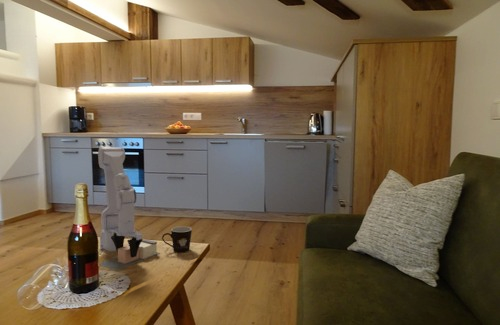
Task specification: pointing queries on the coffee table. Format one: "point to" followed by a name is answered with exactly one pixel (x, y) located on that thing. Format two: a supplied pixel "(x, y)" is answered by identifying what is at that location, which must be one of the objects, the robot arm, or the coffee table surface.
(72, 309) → the coffee table surface
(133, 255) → the robot arm
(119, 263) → the mat
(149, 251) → the pad
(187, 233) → the coffee mug
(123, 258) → the stub
